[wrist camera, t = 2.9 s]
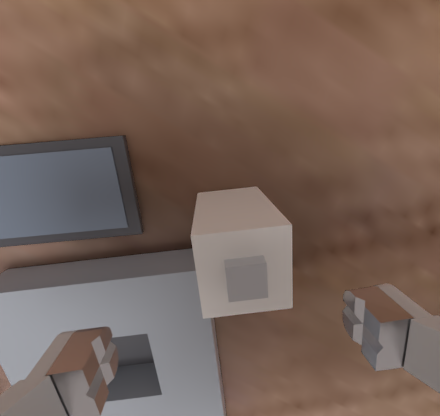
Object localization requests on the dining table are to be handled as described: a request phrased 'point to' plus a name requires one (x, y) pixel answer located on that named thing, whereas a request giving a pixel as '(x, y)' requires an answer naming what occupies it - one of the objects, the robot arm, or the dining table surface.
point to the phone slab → (67, 191)
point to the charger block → (241, 253)
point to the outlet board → (121, 328)
